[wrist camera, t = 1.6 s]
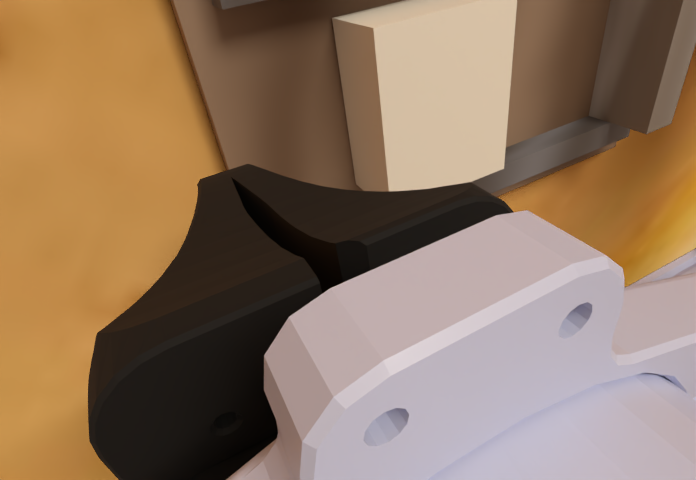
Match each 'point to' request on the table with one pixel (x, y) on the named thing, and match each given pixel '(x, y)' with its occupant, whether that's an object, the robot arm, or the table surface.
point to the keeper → (426, 90)
